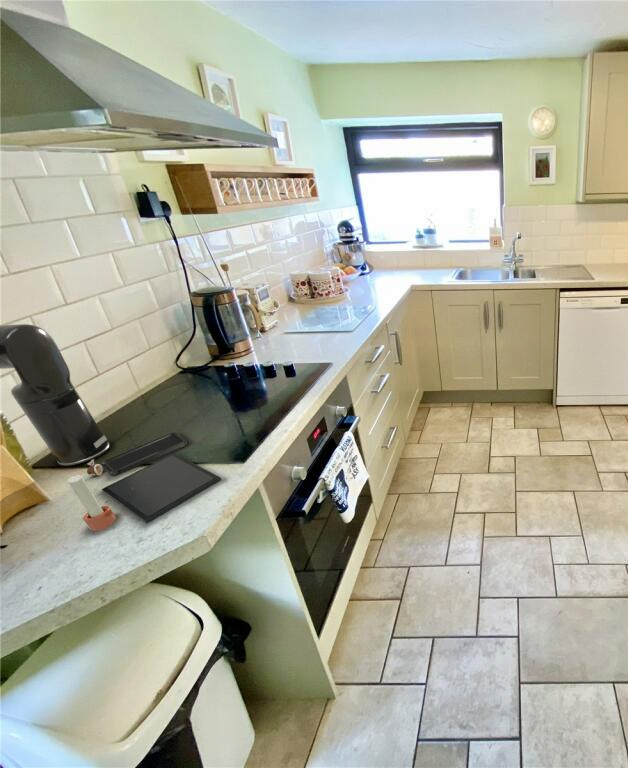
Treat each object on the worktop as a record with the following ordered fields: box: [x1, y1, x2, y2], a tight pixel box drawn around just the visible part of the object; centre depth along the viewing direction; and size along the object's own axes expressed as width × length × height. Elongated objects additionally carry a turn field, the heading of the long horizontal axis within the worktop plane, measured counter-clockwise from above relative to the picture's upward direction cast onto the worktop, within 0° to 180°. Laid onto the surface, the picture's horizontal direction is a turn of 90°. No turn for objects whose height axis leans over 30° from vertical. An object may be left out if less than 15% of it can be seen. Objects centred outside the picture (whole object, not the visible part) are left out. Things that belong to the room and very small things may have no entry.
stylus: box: [67, 474, 104, 518], centre depth 77 cm, size 2×2×12 cm
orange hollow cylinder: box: [82, 505, 117, 532], centre depth 80 cm, size 4×4×3 cm
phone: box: [101, 431, 188, 477], centre depth 100 cm, size 8×1×15 cm
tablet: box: [101, 452, 222, 524], centre depth 90 cm, size 20×14×1 cm
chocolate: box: [86, 459, 104, 477], centre depth 94 cm, size 3×2×4 cm
